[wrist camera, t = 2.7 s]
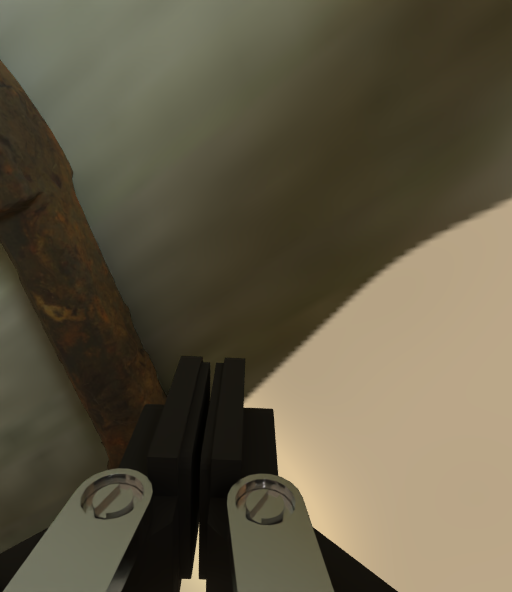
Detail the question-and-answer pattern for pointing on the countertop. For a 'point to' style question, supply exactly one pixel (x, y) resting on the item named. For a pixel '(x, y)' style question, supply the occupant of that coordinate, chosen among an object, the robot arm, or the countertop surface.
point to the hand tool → (69, 275)
